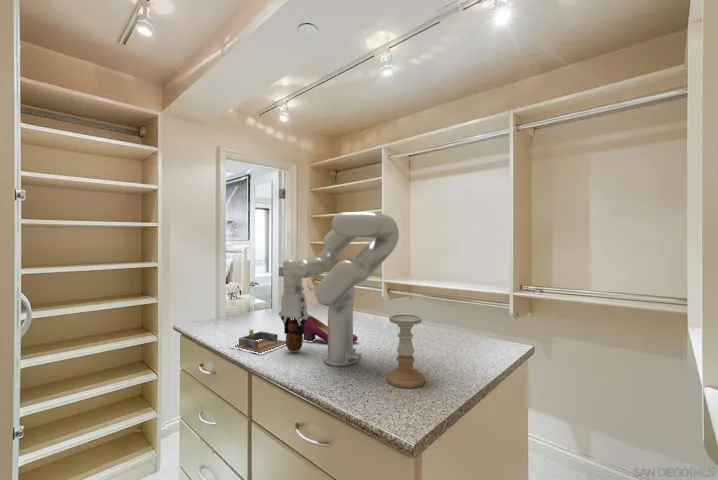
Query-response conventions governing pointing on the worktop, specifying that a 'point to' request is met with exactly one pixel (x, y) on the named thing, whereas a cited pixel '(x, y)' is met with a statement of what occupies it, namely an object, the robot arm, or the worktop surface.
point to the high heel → (317, 330)
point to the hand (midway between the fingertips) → (294, 333)
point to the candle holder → (405, 354)
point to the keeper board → (260, 341)
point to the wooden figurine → (293, 336)
